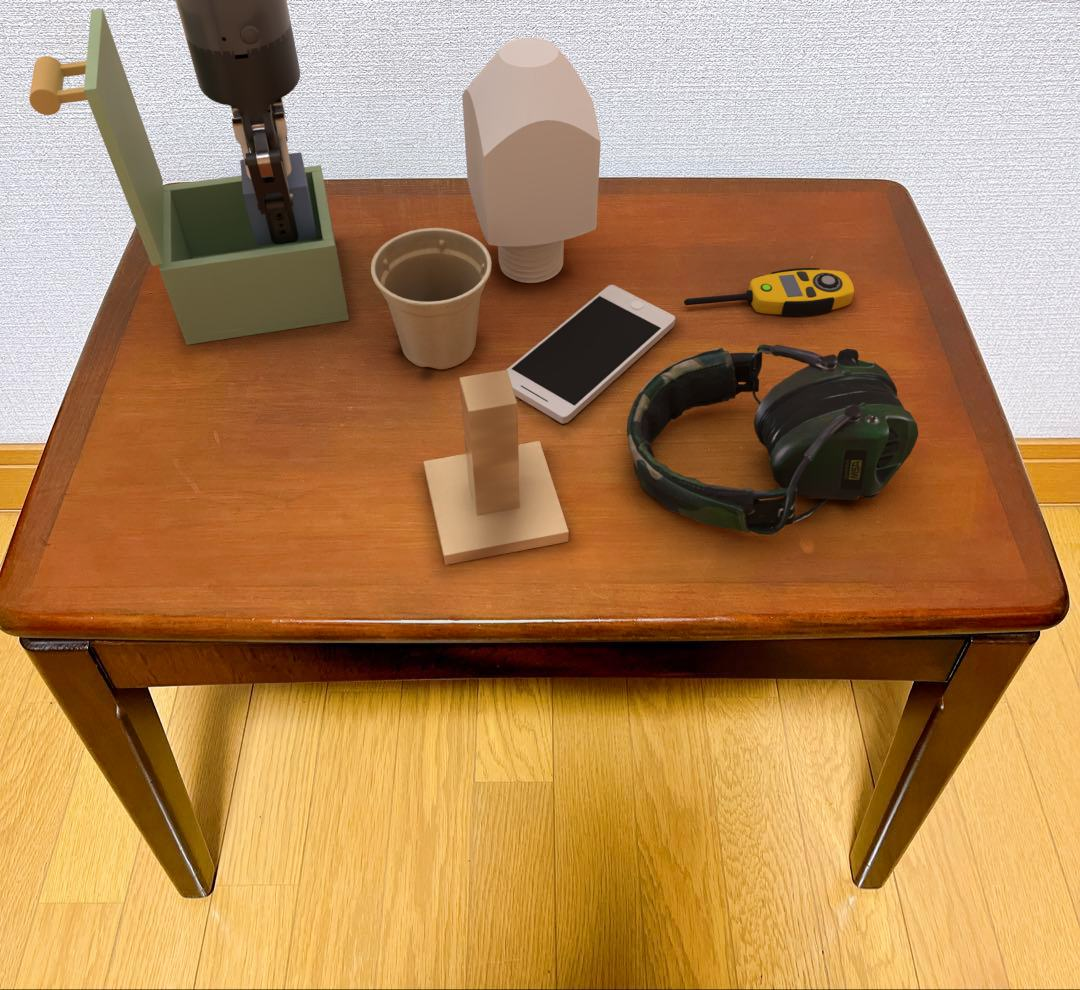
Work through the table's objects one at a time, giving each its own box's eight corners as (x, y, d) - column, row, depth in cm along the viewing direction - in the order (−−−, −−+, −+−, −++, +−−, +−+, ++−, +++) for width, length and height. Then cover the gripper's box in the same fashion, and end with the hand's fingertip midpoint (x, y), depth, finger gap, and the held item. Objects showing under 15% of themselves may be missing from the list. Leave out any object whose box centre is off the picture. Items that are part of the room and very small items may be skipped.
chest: (335, 239, 95) (320, 164, 89) (349, 320, 88) (334, 245, 82) (184, 260, 93) (159, 185, 87) (186, 345, 86) (159, 270, 80)
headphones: (853, 315, 80) (605, 374, 80) (919, 303, 66) (622, 374, 66) (885, 480, 81) (642, 537, 81) (956, 500, 68) (665, 568, 68)
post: (445, 565, 71) (430, 452, 62) (424, 471, 77) (408, 354, 68) (568, 541, 73) (572, 427, 63) (539, 450, 78) (539, 333, 69)
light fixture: (593, 288, 91) (603, 75, 75) (491, 304, 89) (480, 90, 74) (567, 226, 96) (572, 17, 81) (471, 240, 95) (457, 30, 79)
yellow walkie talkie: (862, 295, 87) (691, 309, 86) (856, 312, 88) (689, 327, 87) (844, 260, 90) (679, 274, 89) (839, 278, 92) (676, 291, 90)
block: (256, 246, 84) (243, 194, 80) (253, 211, 87) (240, 159, 83) (317, 237, 85) (306, 185, 81) (311, 203, 88) (301, 151, 84)
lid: (102, 8, 75) (26, 17, 75) (96, 88, 68) (11, 99, 67) (163, 180, 87) (97, 189, 86) (163, 264, 79) (91, 275, 79)
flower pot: (516, 333, 87) (514, 251, 80) (454, 401, 82) (446, 318, 75) (426, 296, 90) (417, 214, 83) (361, 359, 85) (346, 276, 78)
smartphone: (676, 324, 87) (677, 316, 87) (564, 425, 80) (564, 417, 79) (610, 290, 90) (610, 282, 89) (496, 385, 83) (496, 377, 82)
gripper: (181, -18, 76) (234, 179, 90) (184, 77, 68) (242, 280, 81) (282, -28, 77) (319, 168, 91) (297, 64, 69) (336, 266, 82)
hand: (283, 220), depth 86 cm, fingers closed on block, 5 cm apart
